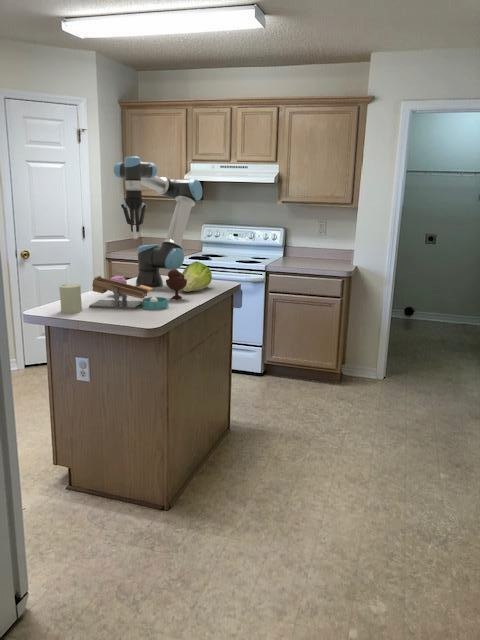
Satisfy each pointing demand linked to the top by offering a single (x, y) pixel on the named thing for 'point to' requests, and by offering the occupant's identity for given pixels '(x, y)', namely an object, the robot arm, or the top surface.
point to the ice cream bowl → (176, 282)
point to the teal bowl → (155, 303)
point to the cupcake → (119, 280)
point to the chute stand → (116, 302)
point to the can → (70, 298)
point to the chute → (119, 287)
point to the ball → (153, 299)
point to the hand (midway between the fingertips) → (135, 238)
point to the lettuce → (197, 276)
